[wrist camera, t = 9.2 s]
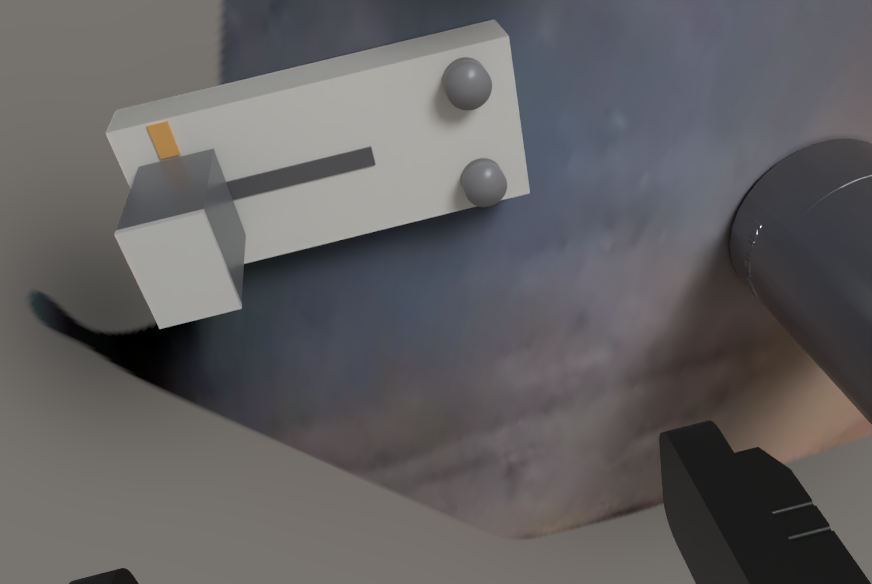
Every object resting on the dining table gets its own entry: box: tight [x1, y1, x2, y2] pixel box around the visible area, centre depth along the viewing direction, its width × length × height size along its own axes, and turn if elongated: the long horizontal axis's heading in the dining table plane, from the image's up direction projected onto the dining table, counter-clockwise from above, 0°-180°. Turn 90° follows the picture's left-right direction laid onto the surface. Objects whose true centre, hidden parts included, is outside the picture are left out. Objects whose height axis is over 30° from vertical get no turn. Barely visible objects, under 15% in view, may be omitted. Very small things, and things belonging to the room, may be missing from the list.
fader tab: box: [114, 149, 246, 329], centre depth 30 cm, size 3×4×6 cm
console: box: [105, 19, 530, 264], centre depth 34 cm, size 16×7×4 cm, turn 101°
